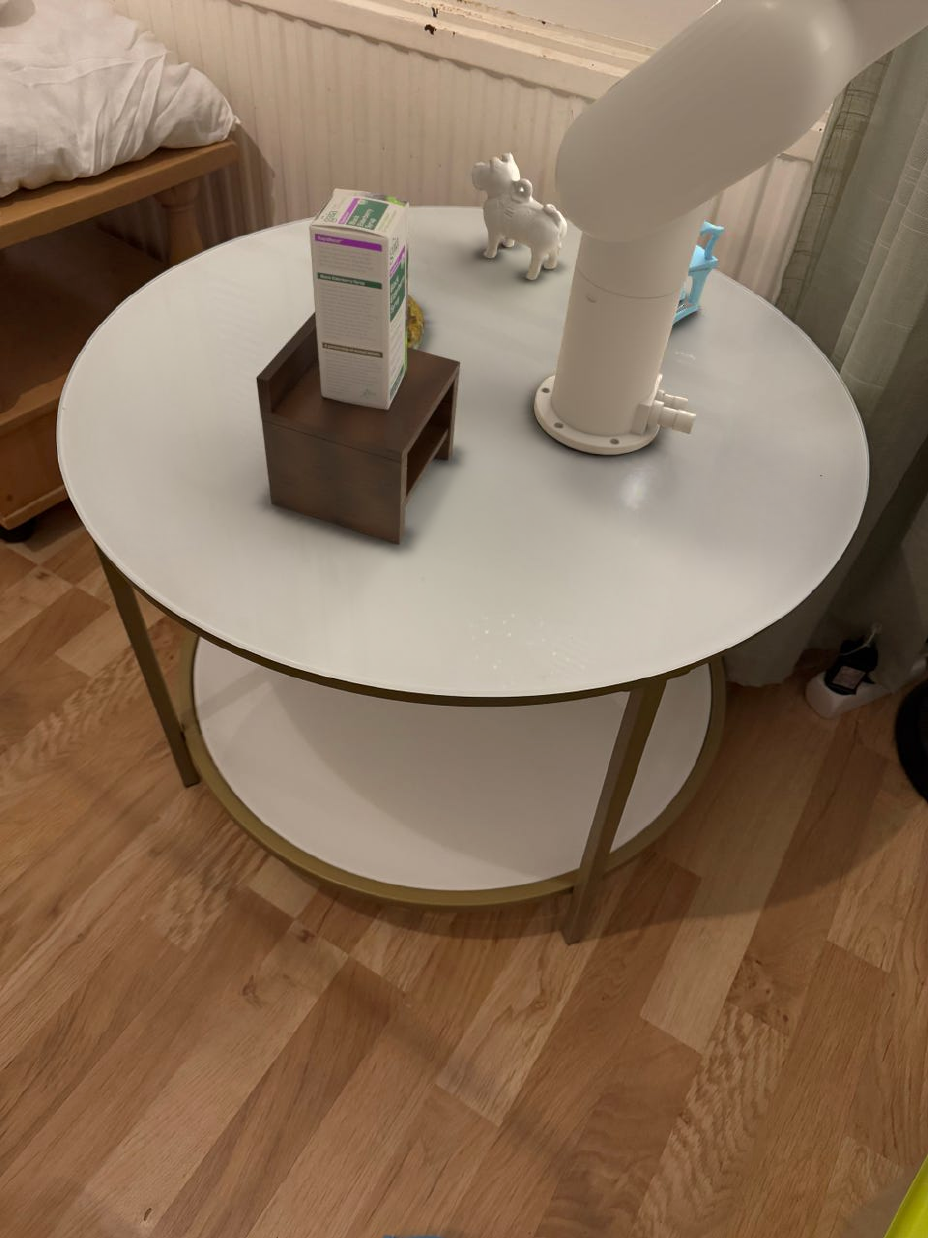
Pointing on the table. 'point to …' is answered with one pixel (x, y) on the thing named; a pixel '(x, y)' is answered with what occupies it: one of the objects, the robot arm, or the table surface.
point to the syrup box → (361, 295)
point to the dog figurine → (517, 214)
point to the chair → (700, 268)
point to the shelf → (353, 438)
